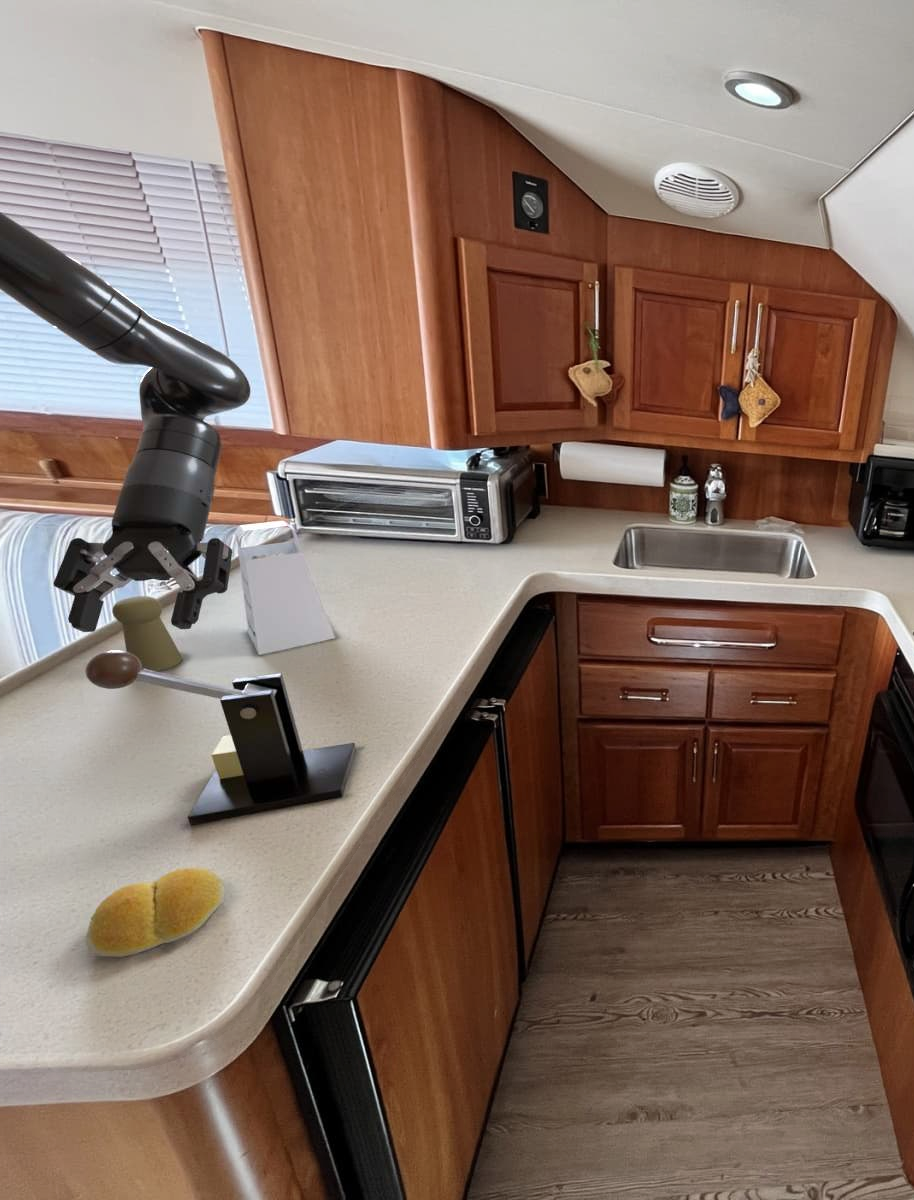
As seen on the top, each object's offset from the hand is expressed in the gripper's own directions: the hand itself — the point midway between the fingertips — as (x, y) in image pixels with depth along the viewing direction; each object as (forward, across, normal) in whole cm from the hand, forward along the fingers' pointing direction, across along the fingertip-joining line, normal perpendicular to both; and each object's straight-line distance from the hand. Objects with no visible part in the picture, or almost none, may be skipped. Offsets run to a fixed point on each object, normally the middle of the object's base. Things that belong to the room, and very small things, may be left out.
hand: (132, 628), depth 68 cm
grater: (-14, -5, +43) cm, 46 cm away
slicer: (+16, +10, +13) cm, 23 cm away
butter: (+13, +6, +14) cm, 20 cm away
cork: (-8, -20, +37) cm, 43 cm away
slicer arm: (+8, +4, +3) cm, 9 cm away
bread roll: (+30, +9, -1) cm, 31 cm away
